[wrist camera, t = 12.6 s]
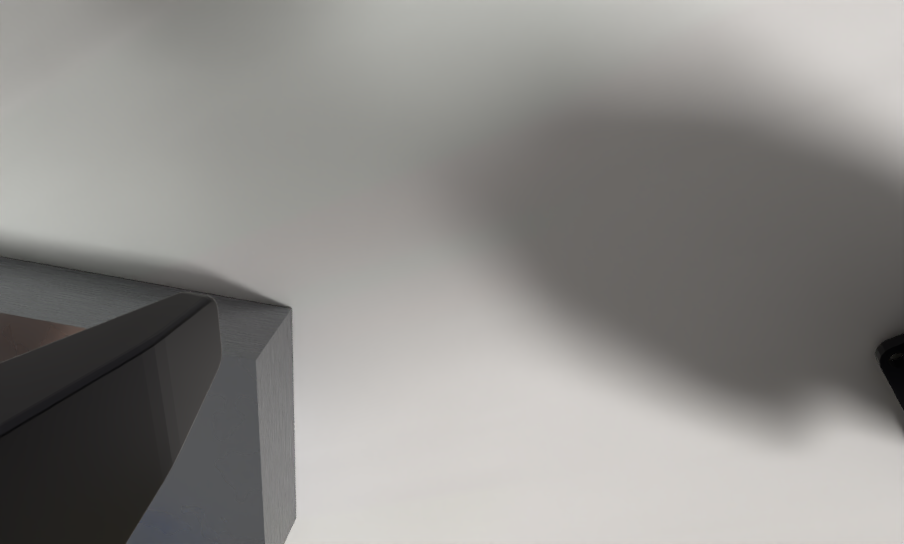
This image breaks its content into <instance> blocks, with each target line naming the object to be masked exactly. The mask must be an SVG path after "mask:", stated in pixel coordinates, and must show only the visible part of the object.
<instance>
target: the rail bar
mask: <svg viewBox="0 0 904 544" xmlns="http://www.w3.org/2000/svg"><path fill="white" fill-rule="evenodd" d="M180 292H190V293H196V294H202V295H209V296H211V297H212V298H214V299H215V301H216V303H217V306H218V314H219V324H220V334H221V344H222V358H221V362H220V366H219V369H218V371H217V373H216V375H215V377H214V380H213V382H212V384H211V386H210V388H209V390H208V393H207V395H206V397H205V399H204V401H203V404H202V406H201V408H200V410H199V412H198V414H197V417H196V419H195V421H194V423H193V425H192V427H191V430H190V432H189V434H188V436H187V438H186V440H185V443H184V445H183V447H182V449H181V451H180V453H179V455H178V457H177V459H176V461H175V463H174V465H173V467H172V469H171V471H170V472H169V474H168V476H167V478H166V479H165V481H164V483H163V484H162V486H161V488H160V489H159V491H158V493H157V494H156V496H155V498H154V499H153V501H152V502H151V504H150V506H149V507H148V509H147V511H146V512H145V514H144V516H143V517H142V519H141V521H140V522H139V524H138V525H137V527H136V529H135V530H134V532H133V534H132V535H131V537H130V539H129V540H128V542H127V543H126V544H284V543H285V541H286V538H287V536H288V534H289V532H290V530H291V528H292V526H293V524H294V521H295V519H296V495H295V448H294V401H293V354H292V309H291V308H285V307H280V306H274V305H268V304H263V303H257V302H252V301H246V300H240V299H235V298H229V297H224V296H218V295H212V294H207V293H201V292H195V291H190V290H184V289H179V288H173V287H167V286H162V285H156V284H151V283H145V282H139V281H134V280H128V279H123V278H117V277H111V276H106V275H100V274H94V273H89V272H83V271H78V270H72V269H66V268H61V267H55V266H50V265H44V264H38V263H33V262H27V261H21V260H16V259H10V258H5V257H0V363H1V362H3V361H6V360H8V359H11V358H13V357H16V356H18V355H21V354H24V353H26V352H29V351H31V350H34V349H36V348H39V347H42V346H44V345H47V344H49V343H52V342H54V341H57V340H59V339H62V338H65V337H67V336H70V335H72V334H75V333H77V332H80V331H82V330H85V329H88V328H90V327H93V326H95V325H98V324H100V323H103V322H105V321H108V320H111V319H113V318H116V317H118V316H121V315H123V314H126V313H128V312H131V311H134V310H136V309H139V308H141V307H144V306H146V305H149V304H151V303H154V302H157V301H159V300H162V299H164V298H167V297H169V296H172V295H174V294H177V293H180Z"/></svg>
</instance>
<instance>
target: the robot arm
mask: <svg viewBox="0 0 904 544" xmlns="http://www.w3.org/2000/svg"><path fill="white" fill-rule="evenodd" d="M897 353H903V355H902V357H900V358H899V359H895V360H891V359H890V357H891V356H892V355H894V354H897ZM875 355H876V359H877V361H878V363H879V365H880V367H881V369H882V371H883V373H884V375H885V376H886V378H887V380H888V382H889V384H890V386H891V388H892V389H893V391H894V393H895V395H896V397H897V399H898V401H899V402H900V404H901V406H902V408H903V410H904V334H901V335H899V336H896V337H894V338H891V339H888V340H886V341H884V342H883V343H881V344H880V345H879V346H878V347H877V349H876V353H875ZM221 358H222V344H221V334H220V324H219V314H218V306H217V303H216V301H215V299H214V298H212V297H211V296H209V295H202V294H196V293H190V292H180V293H177V294H174V295H172V296H169V297H167V298H164V299H162V300H159V301H157V302H154V303H151V304H149V305H146V306H144V307H141V308H139V309H136V310H134V311H131V312H128V313H126V314H123V315H121V316H118V317H116V318H113V319H111V320H108V321H105V322H103V323H100V324H98V325H95V326H93V327H90V328H88V329H85V330H82V331H80V332H77V333H75V334H72V335H70V336H67V337H65V338H62V339H59V340H57V341H54V342H52V343H49V344H47V345H44V346H42V347H39V348H36V349H34V350H31V351H29V352H26V353H24V354H21V355H18V356H16V357H13V358H11V359H8V360H6V361H3V362H1V363H0V544H126V543H127V542H128V540H129V539H130V537H131V535H132V534H133V532H134V530H135V529H136V527H137V525H138V524H139V522H140V521H141V519H142V517H143V516H144V514H145V512H146V511H147V509H148V507H149V506H150V504H151V502H152V501H153V499H154V498H155V496H156V494H157V493H158V491H159V489H160V488H161V486H162V484H163V483H164V481H165V479H166V478H167V476H168V474H169V472H170V471H171V469H172V467H173V465H174V463H175V461H176V459H177V457H178V455H179V453H180V451H181V449H182V447H183V445H184V443H185V440H186V438H187V436H188V434H189V432H190V430H191V427H192V425H193V423H194V421H195V419H196V417H197V414H198V412H199V410H200V408H201V406H202V404H203V401H204V399H205V397H206V395H207V393H208V390H209V388H210V386H211V384H212V382H213V380H214V377H215V375H216V373H217V371H218V369H219V366H220V362H221Z"/></svg>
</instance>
